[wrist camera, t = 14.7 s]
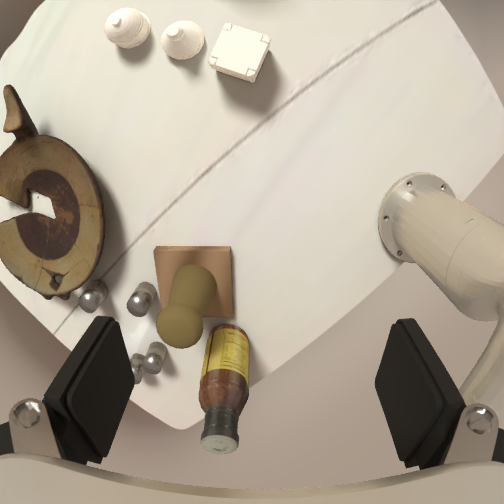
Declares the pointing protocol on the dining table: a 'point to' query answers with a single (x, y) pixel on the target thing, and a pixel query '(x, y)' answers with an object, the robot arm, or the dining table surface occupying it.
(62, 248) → the broken ceramic bowl
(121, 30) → the container set
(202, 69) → the dining table surface
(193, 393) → the dining table surface
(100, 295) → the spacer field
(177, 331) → the olive pawn
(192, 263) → the walnut board
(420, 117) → the dining table surface
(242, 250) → the dining table surface
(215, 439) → the sauce bottle
